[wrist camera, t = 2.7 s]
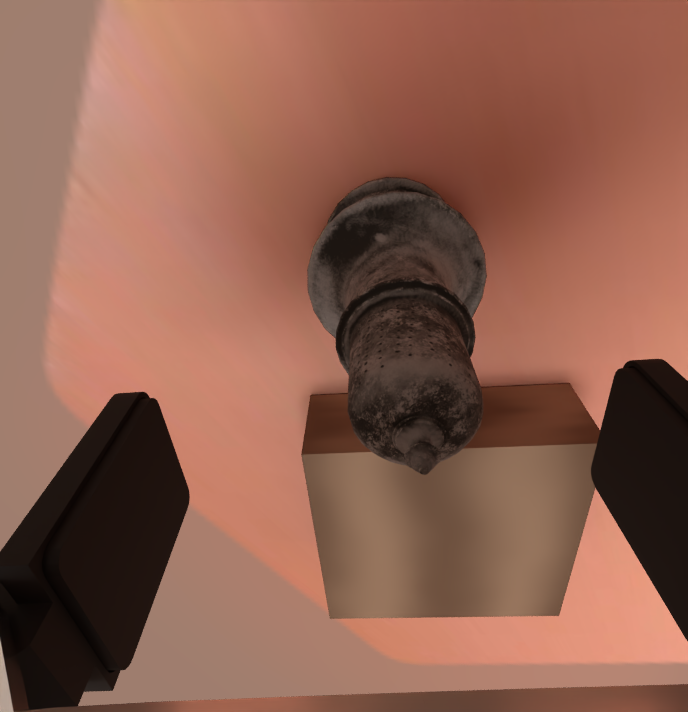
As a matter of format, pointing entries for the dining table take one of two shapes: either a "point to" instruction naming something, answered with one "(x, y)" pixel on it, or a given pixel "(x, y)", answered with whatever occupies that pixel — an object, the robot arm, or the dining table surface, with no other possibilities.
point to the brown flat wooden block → (454, 511)
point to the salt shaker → (403, 318)
